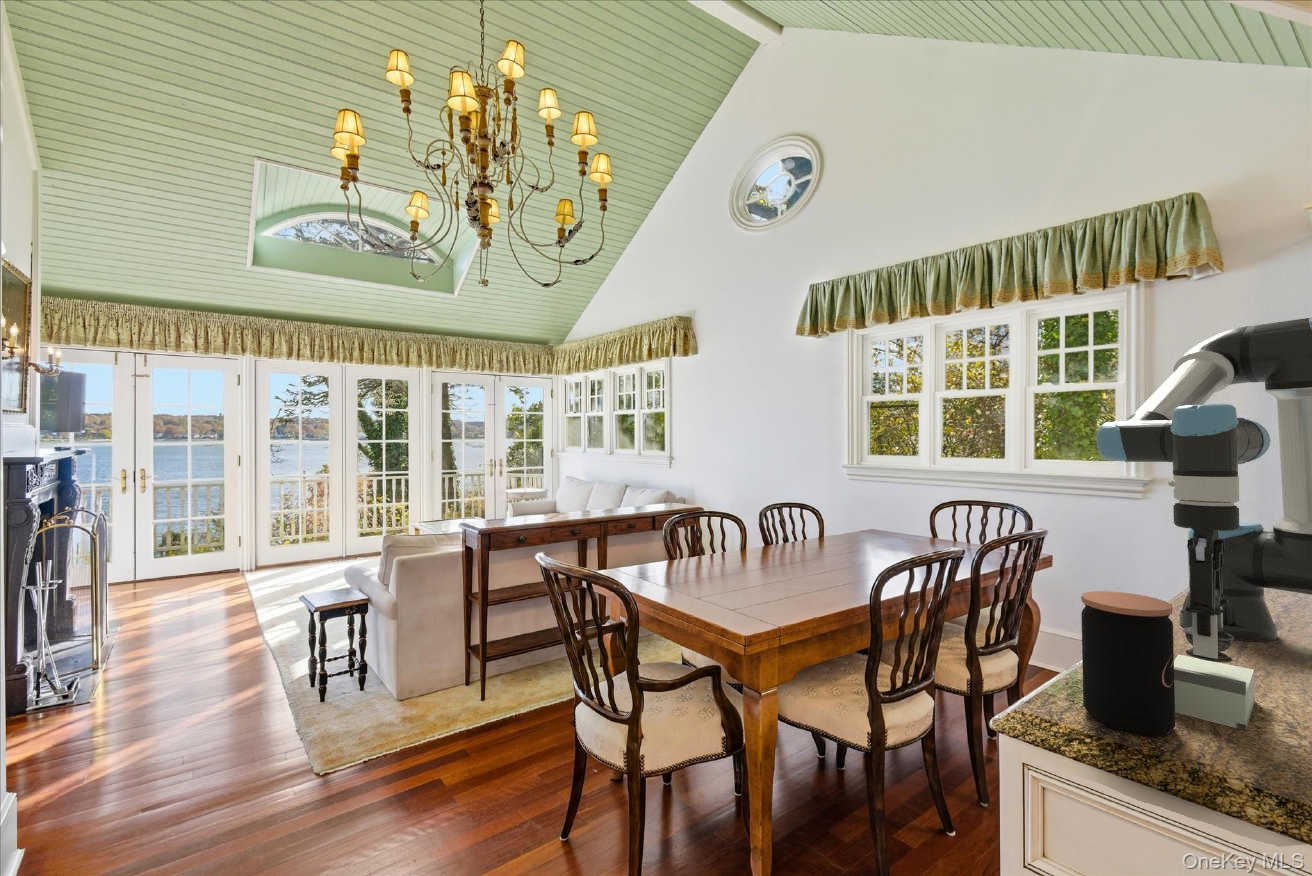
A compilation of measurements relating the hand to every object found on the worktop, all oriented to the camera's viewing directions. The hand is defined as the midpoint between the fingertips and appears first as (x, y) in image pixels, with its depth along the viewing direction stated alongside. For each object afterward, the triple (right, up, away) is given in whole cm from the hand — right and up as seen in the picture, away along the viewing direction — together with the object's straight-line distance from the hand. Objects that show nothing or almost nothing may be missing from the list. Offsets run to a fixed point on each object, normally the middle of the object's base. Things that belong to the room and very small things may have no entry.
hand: (1208, 650), depth 91 cm
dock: (0, -9, 0) cm, 9 cm away
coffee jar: (-16, -9, -5) cm, 19 cm away
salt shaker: (0, -1, 0) cm, 1 cm away
